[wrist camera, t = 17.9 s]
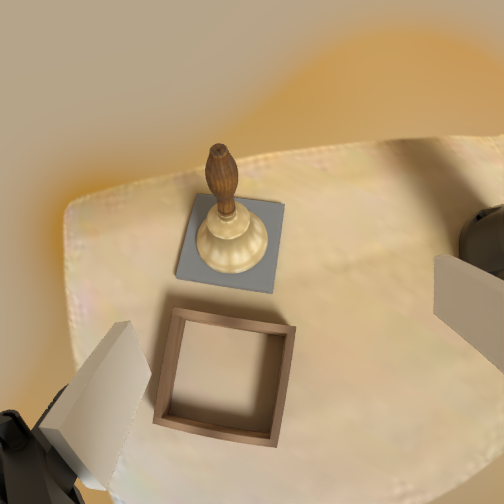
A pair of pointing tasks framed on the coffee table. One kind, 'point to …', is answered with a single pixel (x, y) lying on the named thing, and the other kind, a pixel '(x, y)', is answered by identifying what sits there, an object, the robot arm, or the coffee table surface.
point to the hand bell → (229, 221)
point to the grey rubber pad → (251, 279)
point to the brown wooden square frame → (170, 368)
